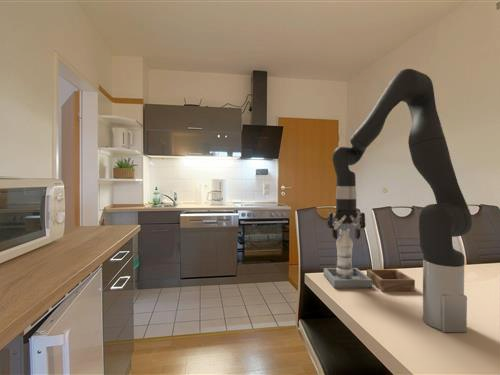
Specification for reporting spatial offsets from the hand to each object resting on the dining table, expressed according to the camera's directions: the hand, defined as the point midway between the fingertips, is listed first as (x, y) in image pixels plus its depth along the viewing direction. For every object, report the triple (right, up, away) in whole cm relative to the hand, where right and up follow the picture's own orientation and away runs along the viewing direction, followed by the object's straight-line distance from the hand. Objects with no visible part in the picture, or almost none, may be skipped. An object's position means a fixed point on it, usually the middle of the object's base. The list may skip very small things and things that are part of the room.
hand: (346, 238), depth 105 cm
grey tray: (0, -17, 0) cm, 17 cm away
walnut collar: (+15, -17, -4) cm, 23 cm away
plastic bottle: (-1, -17, 0) cm, 17 cm away
